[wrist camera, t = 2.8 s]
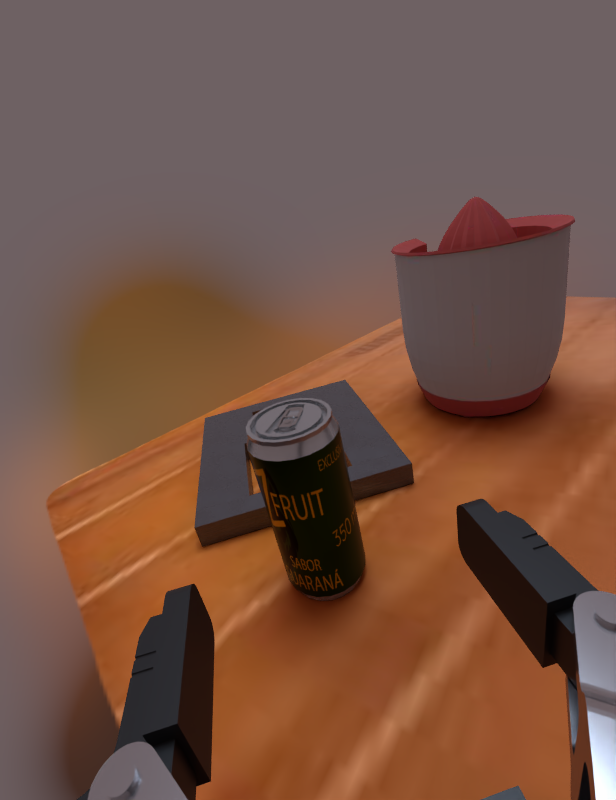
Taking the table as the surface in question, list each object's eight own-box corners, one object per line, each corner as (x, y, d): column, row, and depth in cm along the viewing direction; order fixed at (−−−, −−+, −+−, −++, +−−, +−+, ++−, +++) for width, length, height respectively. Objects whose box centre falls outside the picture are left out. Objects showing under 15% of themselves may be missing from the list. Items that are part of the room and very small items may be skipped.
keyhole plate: (414, 482, 34) (411, 463, 33) (202, 546, 32) (194, 527, 31) (347, 394, 52) (344, 379, 51) (210, 432, 50) (205, 418, 49)
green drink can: (301, 538, 31) (261, 399, 26) (371, 541, 29) (343, 393, 24) (279, 601, 26) (225, 447, 21) (361, 609, 24) (324, 442, 19)
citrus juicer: (494, 351, 54) (493, 187, 46) (602, 403, 38) (630, 166, 30) (384, 381, 53) (361, 218, 45) (448, 447, 37) (432, 213, 29)
